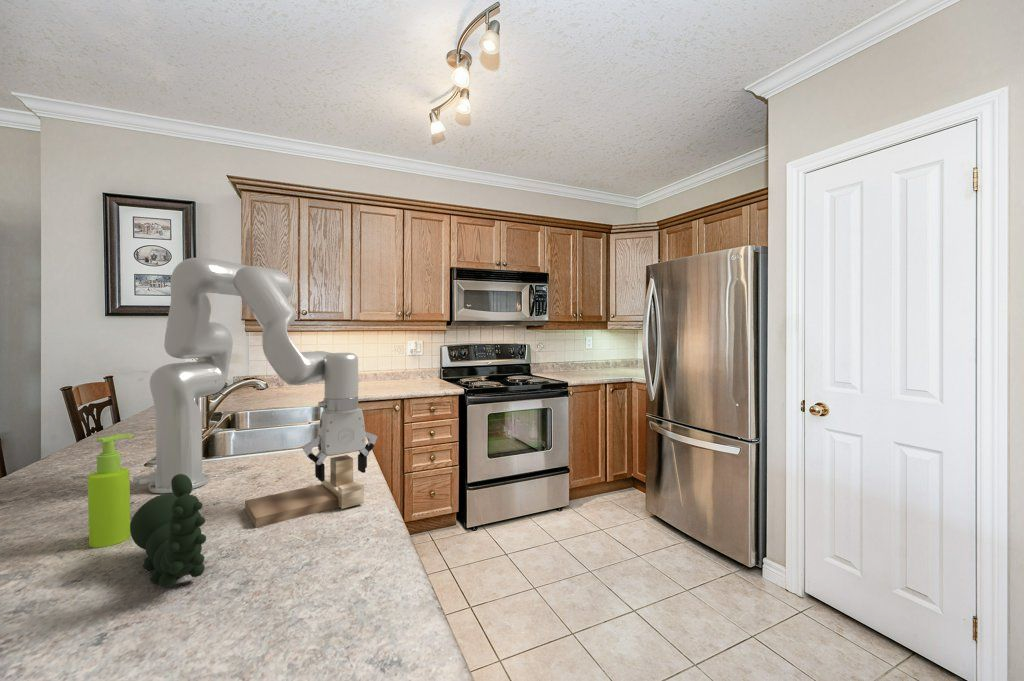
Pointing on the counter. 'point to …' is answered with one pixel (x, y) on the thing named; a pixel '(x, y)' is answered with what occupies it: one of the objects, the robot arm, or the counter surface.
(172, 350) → the robot arm
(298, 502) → the walnut board
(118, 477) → the soap dispenser
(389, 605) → the counter surface
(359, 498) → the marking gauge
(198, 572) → the toy figurine
